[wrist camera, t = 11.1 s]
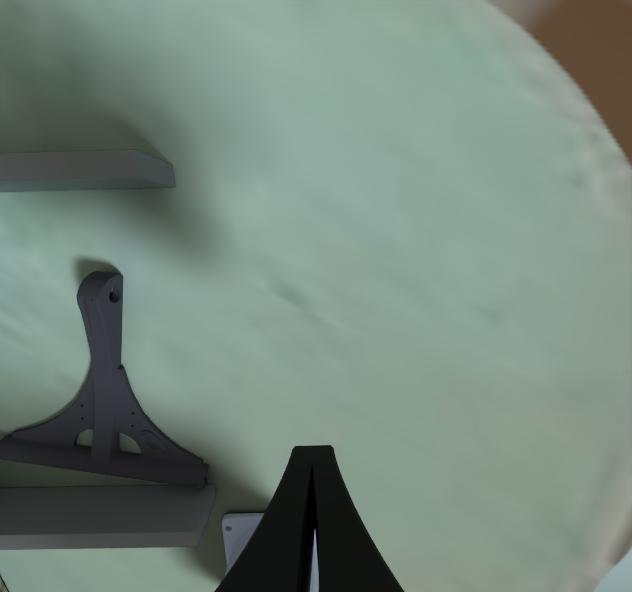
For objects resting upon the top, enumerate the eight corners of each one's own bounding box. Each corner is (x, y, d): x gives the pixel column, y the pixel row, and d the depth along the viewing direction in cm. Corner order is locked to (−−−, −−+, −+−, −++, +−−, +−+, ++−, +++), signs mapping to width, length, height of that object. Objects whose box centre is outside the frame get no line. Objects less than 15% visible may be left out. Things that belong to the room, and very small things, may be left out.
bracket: (231, 289, 19) (216, 300, 16) (209, 475, 22) (194, 509, 20) (7, 250, 19) (-46, 254, 16) (19, 445, 22) (-22, 476, 19)
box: (216, 497, 22) (197, 546, 19) (-16, 501, 22) (-76, 551, 19) (172, 164, 17) (135, 149, 13) (-136, 173, 17) (-251, 160, 13)
